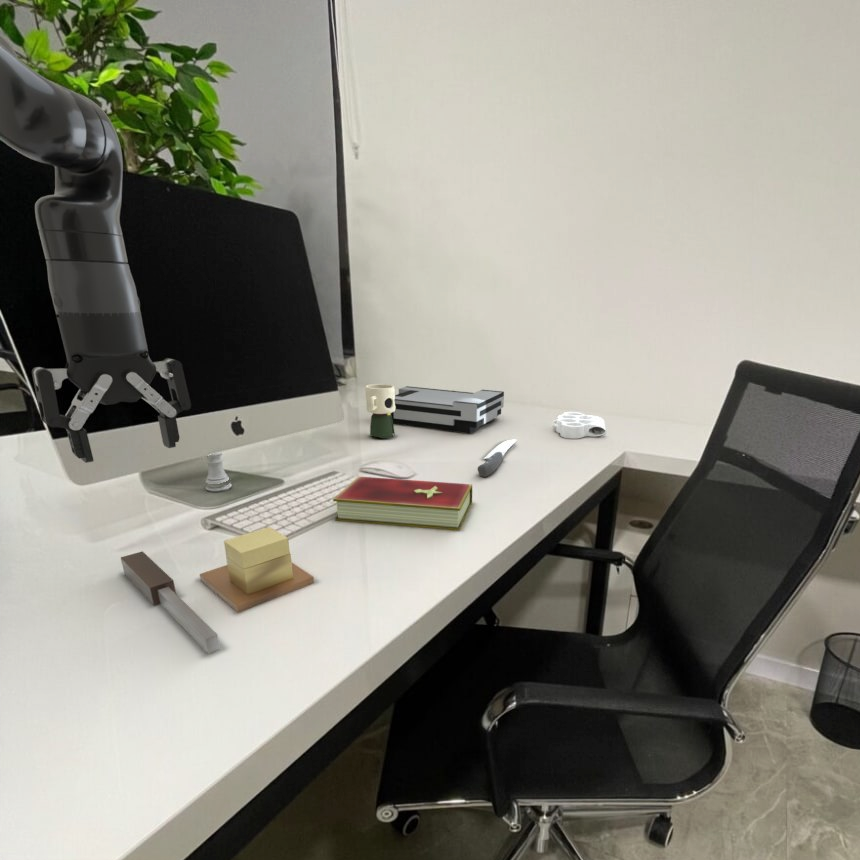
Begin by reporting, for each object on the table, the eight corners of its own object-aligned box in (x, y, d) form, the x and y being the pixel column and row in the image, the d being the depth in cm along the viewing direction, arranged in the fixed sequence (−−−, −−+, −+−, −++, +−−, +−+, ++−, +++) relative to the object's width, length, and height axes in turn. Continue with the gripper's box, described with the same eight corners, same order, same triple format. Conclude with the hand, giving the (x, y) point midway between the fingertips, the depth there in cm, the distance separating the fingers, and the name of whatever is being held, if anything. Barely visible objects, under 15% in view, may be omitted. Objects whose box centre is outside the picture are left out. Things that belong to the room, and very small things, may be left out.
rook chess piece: (203, 487, 104) (195, 446, 101) (228, 483, 106) (222, 443, 103) (209, 494, 100) (202, 452, 97) (235, 489, 103) (229, 448, 100)
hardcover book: (360, 495, 102) (359, 474, 101) (472, 503, 100) (472, 482, 99) (335, 521, 91) (332, 497, 90) (459, 531, 89) (459, 506, 87)
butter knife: (201, 657, 58) (197, 637, 57) (124, 574, 73) (120, 557, 72) (226, 646, 59) (223, 626, 58) (146, 568, 75) (142, 550, 74)
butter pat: (243, 569, 66) (240, 553, 65) (226, 556, 69) (223, 540, 68) (290, 553, 70) (288, 537, 70) (271, 541, 73) (269, 526, 72)
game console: (407, 408, 174) (406, 382, 171) (503, 419, 164) (503, 391, 161) (371, 422, 155) (369, 393, 152) (476, 435, 145) (476, 404, 142)
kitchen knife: (498, 437, 140) (517, 433, 139) (501, 446, 141) (519, 443, 140) (466, 469, 114) (489, 465, 112) (469, 480, 114) (492, 476, 113)
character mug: (386, 443, 135) (384, 390, 131) (360, 441, 137) (356, 388, 132) (403, 433, 145) (402, 383, 140) (378, 431, 147) (376, 381, 142)
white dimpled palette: (605, 440, 144) (549, 437, 146) (603, 425, 161) (552, 422, 162) (606, 428, 143) (550, 424, 145) (604, 413, 160) (553, 410, 161)
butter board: (238, 613, 65) (232, 580, 64) (200, 580, 72) (194, 549, 71) (314, 583, 72) (311, 552, 71) (273, 555, 79) (269, 527, 78)
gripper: (158, 306, 66) (182, 437, 72) (5, 306, 56) (47, 458, 62) (183, 309, 62) (206, 448, 68) (21, 310, 52) (65, 474, 57)
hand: (130, 453), depth 65 cm, fingers open, 8 cm apart
